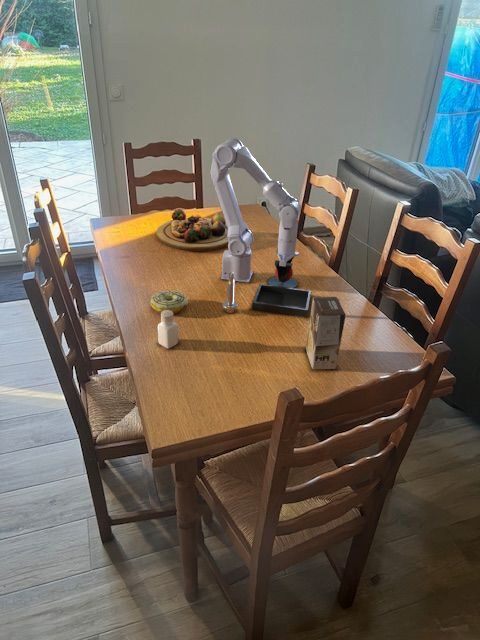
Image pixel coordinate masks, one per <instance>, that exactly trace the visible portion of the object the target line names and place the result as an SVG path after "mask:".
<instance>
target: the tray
mask: <svg viewBox="0 0 480 640" xmlns="http://www.w3.org/2000/svg"><path fill="white" fill-rule="evenodd" d="M311 295H312V290H309V289H301V288H287V287H280V286H272V285H269V284H265V283H259V284H258V287H257V290H256V292H255V295H254V298H253V300H252V307H251V310H255V311H261V312H267V313H274V314H281V315H288V316H295V317H303V318H308V313H309V307H310V302H311Z"/></svg>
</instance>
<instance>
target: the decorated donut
mask: <svg viewBox="0 0 480 640" xmlns="http://www.w3.org/2000/svg"><path fill="white" fill-rule="evenodd" d="M188 301H189V300H188V298H187V296H186V295H185V294H184V293H183V292H180V291H178V290H163V291H159V292H157V293H155V294H153V295H152V296H151V297H150V307H151V308H152V309H153V310H154V311H155V312H157V313H158V314H161V312H162V311H165V310H170V311H172V312H173V315H175V314H178V313H181V311H183V310H184V309H185V307H187V306H188V304H189V302H188Z"/></svg>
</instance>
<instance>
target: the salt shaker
mask: <svg viewBox="0 0 480 640" xmlns="http://www.w3.org/2000/svg"><path fill="white" fill-rule="evenodd" d="M160 321H161V322H159V323H158V324H157V340H158V344H159V345H161V346H162V347H163V348H166V349H170V348H172V347H174V346H176V345H178V343H179V328H178V327H179V326H178V324H177V323H176V321H174V314H173V312H172V311H170V310H165V311H162V312H161V313H160Z"/></svg>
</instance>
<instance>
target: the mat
mask: <svg viewBox="0 0 480 640" xmlns="http://www.w3.org/2000/svg"><path fill="white" fill-rule="evenodd" d="M267 283H268V284H267V285H272V286H280V287H287V288H295V289H297V287H298V282H297V280H296V279H294V278H292V277H291V278H290V279H289V280H288V281H286V282H284V283H283V282H280V281H279V280H278V279H277V277H276V275H274V276H272V277H270V278H269V279H268V282H267Z"/></svg>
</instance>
